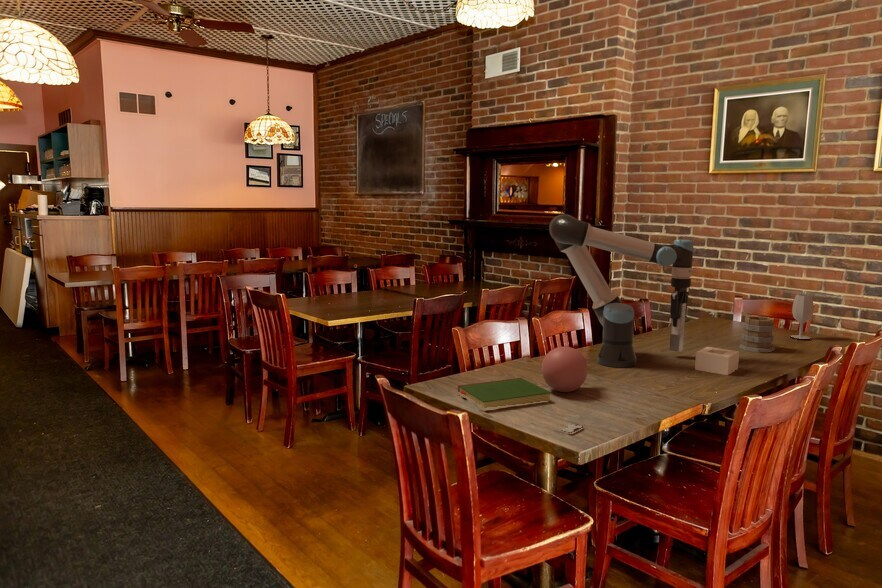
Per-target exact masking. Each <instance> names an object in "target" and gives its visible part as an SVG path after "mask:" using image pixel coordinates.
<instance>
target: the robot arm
mask: <svg viewBox="0 0 882 588" xmlns="http://www.w3.org/2000/svg"><path fill="white" fill-rule="evenodd" d="M548 227H549V228H548V232H549V235H550V236H551V238H552V239H553V240H554V242H555V244H556V246H557V248H558V249H559V252H561V253H564V254H566V256H567V258H568V260H569V261H570V263H571V265H572V268H574V270H575V272H576V274H577V276H578V277H579V279H580V281H581V283H582V285H583V287H584V288H585V291H587V294H588V296H589V298H591V300H592V302H593V303H592V307H591V308H592V310H593V311H594V313H595V316H596V318H597V319H598V321H599V323H600V325H601V326H602V344H601V346H600V349H599V352H598V354H597V358H596V359H597V360H596V361H597V363H598V364H599V365H603V366H605V367H609V368H610V367H613V368H632V367H635V366H637V356H636V355H637V354H636V352H635V350H634V349H635V348H634V346H633V345H634V344H633V342H634V326H635V325H634V319H635V309H634V307H633V306H631V305H630V304H626V303H622V300H621V299H620V297H619V295H618V294H617V293H614V292H612V290H611V288H610V287H609V285H608V283H607V281H606V280H605V278H604V276H603V274H602V273H601V271H600V269H599V266H598V265H597V263H596V261H595V260H594V257H593V256H592V254H591V253H590V251H589V249H588V247H587V246H589V247H592V248H596V249H600V250H604V251H607V252H611V253H615V254H618V255H619V254H620V255H623V256H626V257H629V258H634V259H638V260H642V261H643V262H644V263H649V264H650V263H652V264H656V265H659V266H662V267H670V266H671V278H670V279H671V281H670V287H672V288H674V291H673V293H671V294H670V312H669V319H671V320H672V332H671V331H670V334H675V335H679V322H680V319H679V313H680V304H681V303H686V312H685V318H687V317H688V316H687V314H688V305H689V304H688V303H689V296H690V292H689V291H687V289H689V288H691V287H692V286H691V284H692V279H691V277H692V273H693V269H692V268H693V258H694V257H693V256H694V242H693V240H691V239H675V240H674V241H673V243H671V244H664V243H656V242H651V241H647V240H643V239H641V238H638V237H637V238H636V237H633V236H629V235H625V234H622V233H617V232H614V231H610V230H606V229H602V228H599V227H595V226H592V225H591V223H590V222H587V221H583V220H580V219H579V218H576V217H574V216H572V215H570V214H567V213H561V214H558V215H557V216H555V217H554V218H552V219H551V221H550V223H549V226H548Z"/></svg>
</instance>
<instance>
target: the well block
mask: <svg viewBox="0 0 882 588" xmlns="http://www.w3.org/2000/svg"><path fill="white" fill-rule="evenodd" d="M739 359H740V351H738V350H732V349H726V348H720V347H719V348H718V347H711V346H706V347H703V348H702V349H699V350H698V351H695V362H694V363H695V364H694V370H695V371H700V372H705V371H706V373H712V374H718V375H723V376H729V375H731V374H732V373H734V372H736V371H737V370H738V369H739ZM735 370H736V371H735Z"/></svg>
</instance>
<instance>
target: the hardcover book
mask: <svg viewBox="0 0 882 588" xmlns="http://www.w3.org/2000/svg"><path fill="white" fill-rule="evenodd" d="M458 392H460V393H461V394H464V395H465V396H467V397H469V398H470V399H472V400H473V401H475V402H476V403H478V404H479V405H481V406H482V407H484V408H487V407H497V406H506V405H516V404H525V403H533V402H540V401H549V400H550V399H551V393H552V392H551V391H549V390H547V389H545V388H543V387H541V386H538V385H537V384H535V383H532V382H530V381H529V380H526V379H525V378H523V377H516V378H508V379H500V380H492V381H491V380H490V381H483V382H476V383H470V384H469V383H468V384H460V385H458V386H457V393H458ZM550 401H551V400H550Z"/></svg>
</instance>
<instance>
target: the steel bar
mask: <svg viewBox="0 0 882 588" xmlns="http://www.w3.org/2000/svg"><path fill="white" fill-rule="evenodd" d="M685 312H686V303H681V304H680V313H679V319H680V322H679V335H675V334H671V332H672V319H671V322H670V323H671V324H670V334H669V335H670V336H669V337H670V338H669V349H668V350H669V351H671V352H678V353H680V352H682V351H683V349H684V338H685V337H684V336H685V325H686V317H685Z"/></svg>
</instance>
